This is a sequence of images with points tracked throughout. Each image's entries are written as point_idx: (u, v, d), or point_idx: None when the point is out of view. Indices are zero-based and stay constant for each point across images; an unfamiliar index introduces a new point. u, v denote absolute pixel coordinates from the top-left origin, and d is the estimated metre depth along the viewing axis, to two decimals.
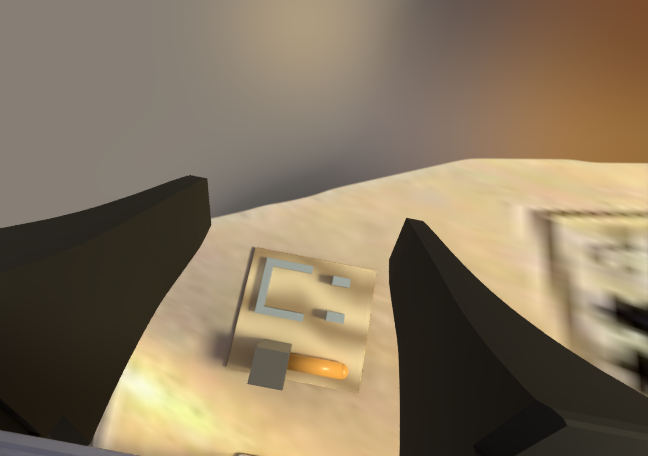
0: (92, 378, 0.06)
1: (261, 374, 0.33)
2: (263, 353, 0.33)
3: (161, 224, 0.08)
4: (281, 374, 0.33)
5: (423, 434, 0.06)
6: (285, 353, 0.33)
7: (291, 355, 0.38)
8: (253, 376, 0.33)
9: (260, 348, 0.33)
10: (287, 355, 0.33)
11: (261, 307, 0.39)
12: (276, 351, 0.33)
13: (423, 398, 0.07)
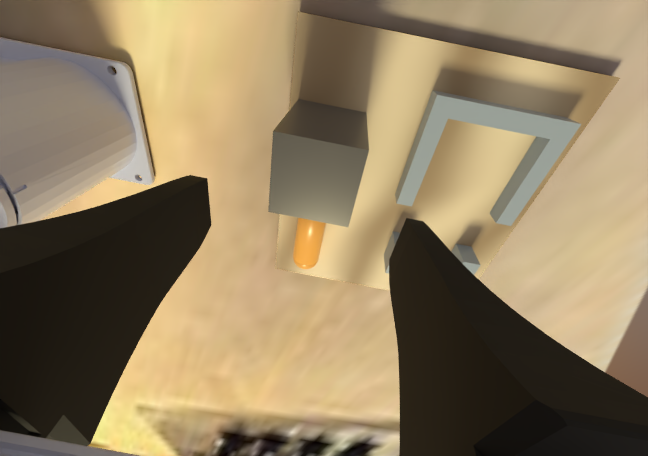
0: (92, 378, 0.06)
1: (299, 167, 0.13)
2: (350, 170, 0.12)
3: (161, 224, 0.08)
4: (301, 209, 0.14)
5: (423, 433, 0.06)
6: (347, 219, 0.14)
7: None
8: (293, 146, 0.12)
9: (363, 162, 0.12)
10: (343, 223, 0.14)
11: (446, 113, 0.15)
12: (353, 200, 0.13)
13: (423, 398, 0.07)
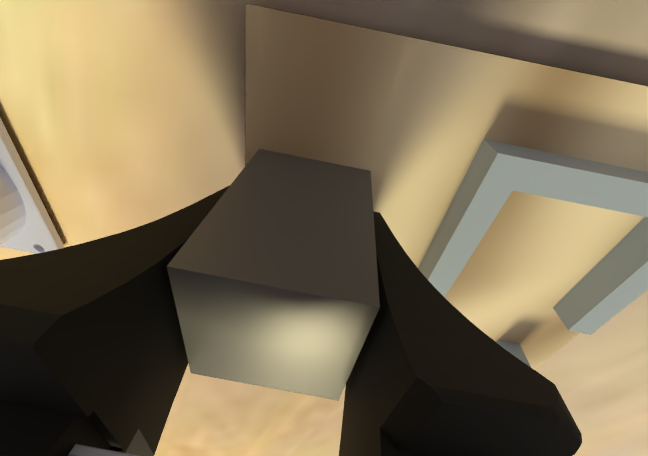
0: (160, 390, 0.06)
1: (233, 322, 0.06)
2: (339, 333, 0.06)
3: None
4: (250, 375, 0.07)
5: (354, 421, 0.06)
6: (337, 392, 0.07)
7: None
8: (216, 292, 0.06)
9: (366, 322, 0.06)
10: (328, 395, 0.08)
11: (510, 183, 0.09)
12: (347, 371, 0.07)
13: (358, 386, 0.07)
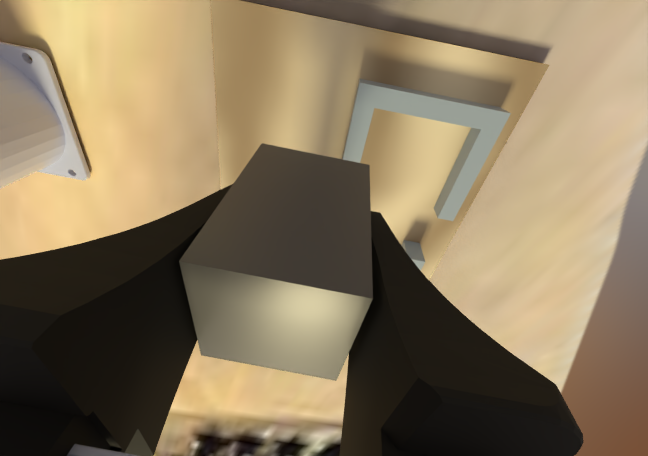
0: (159, 391, 0.06)
1: (240, 311, 0.07)
2: (336, 321, 0.07)
3: None
4: (255, 357, 0.08)
5: (355, 421, 0.06)
6: (335, 373, 0.08)
7: None
8: (223, 284, 0.06)
9: (361, 311, 0.06)
10: (327, 375, 0.08)
11: (371, 103, 0.14)
12: (344, 354, 0.07)
13: (358, 386, 0.07)
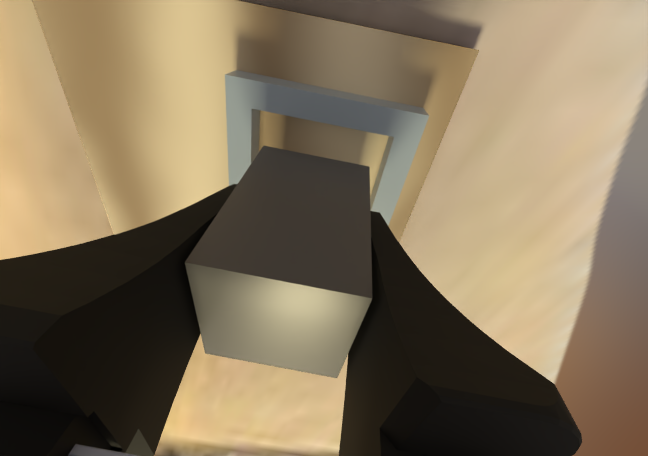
0: (159, 391, 0.06)
1: (243, 309, 0.07)
2: (337, 320, 0.07)
3: None
4: (258, 355, 0.08)
5: (354, 421, 0.06)
6: (336, 370, 0.08)
7: None
8: (228, 284, 0.06)
9: (361, 311, 0.06)
10: (328, 373, 0.08)
11: (246, 101, 0.11)
12: (344, 352, 0.08)
13: (358, 386, 0.07)
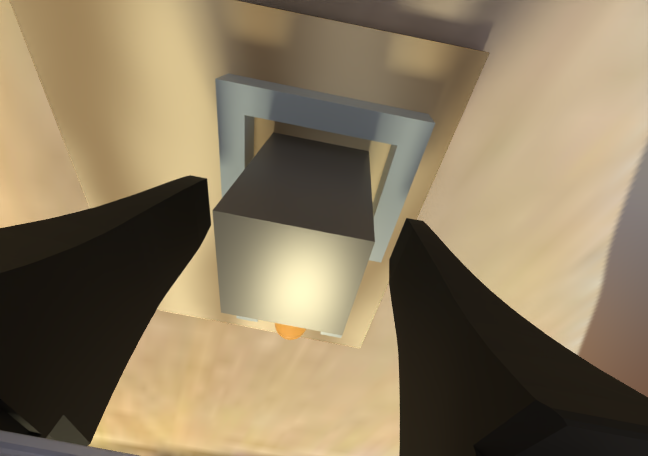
0: (92, 378, 0.06)
1: (260, 260, 0.08)
2: (343, 267, 0.08)
3: (161, 224, 0.08)
4: (270, 312, 0.09)
5: (423, 433, 0.06)
6: (341, 326, 0.09)
7: None
8: (248, 232, 0.07)
9: (365, 257, 0.07)
10: (334, 330, 0.09)
11: (238, 107, 0.10)
12: (349, 304, 0.08)
13: (423, 398, 0.07)
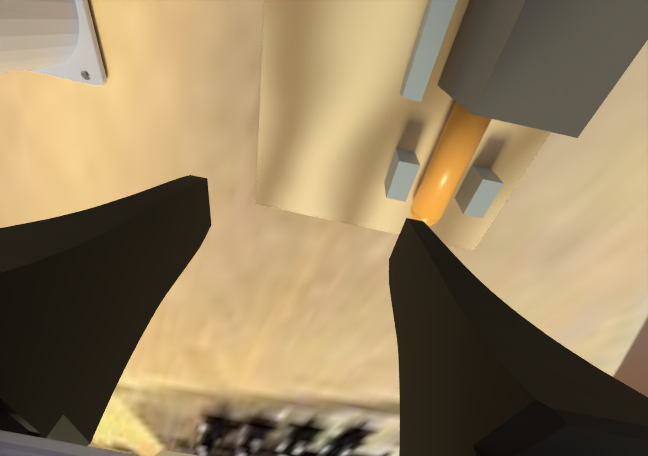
0: (92, 378, 0.06)
1: (550, 35, 0.09)
2: (627, 39, 0.09)
3: (161, 224, 0.08)
4: (522, 110, 0.10)
5: (423, 434, 0.06)
6: (583, 124, 0.10)
7: None
8: None
9: None
10: (573, 130, 0.10)
11: None
12: (606, 92, 0.10)
13: (423, 398, 0.07)
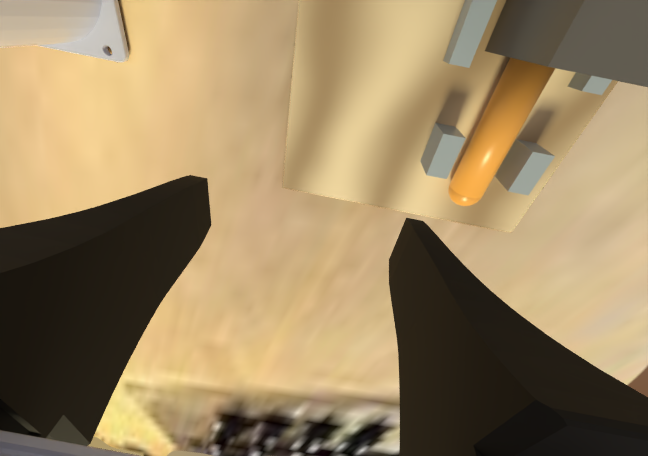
0: (92, 378, 0.06)
1: None
2: None
3: (161, 224, 0.08)
4: (605, 59, 0.09)
5: (423, 434, 0.06)
6: None
7: (553, 71, 0.13)
8: None
9: None
10: None
11: None
12: None
13: (423, 398, 0.07)
